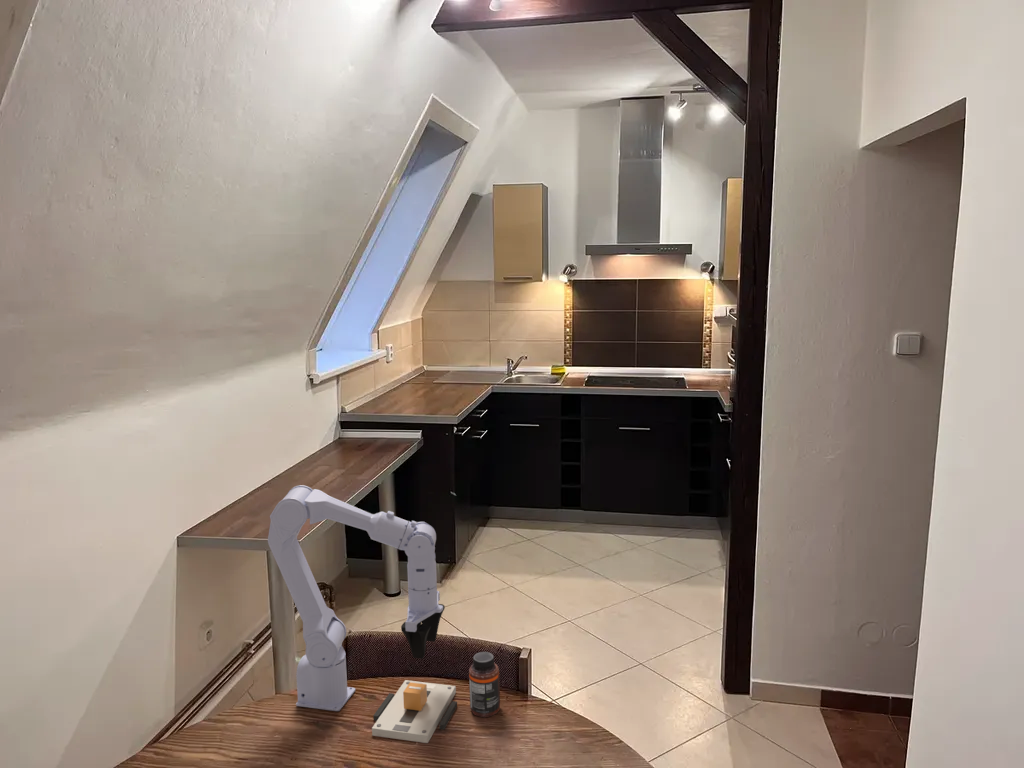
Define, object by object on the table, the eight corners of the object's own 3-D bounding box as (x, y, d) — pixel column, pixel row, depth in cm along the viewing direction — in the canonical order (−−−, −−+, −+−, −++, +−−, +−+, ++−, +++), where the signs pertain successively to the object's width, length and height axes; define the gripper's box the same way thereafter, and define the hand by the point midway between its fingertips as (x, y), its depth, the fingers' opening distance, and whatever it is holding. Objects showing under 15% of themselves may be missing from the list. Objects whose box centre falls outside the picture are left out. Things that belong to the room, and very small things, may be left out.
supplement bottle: (483, 697, 154) (482, 645, 152) (506, 708, 150) (505, 654, 148) (463, 711, 149) (462, 657, 147) (486, 722, 145) (485, 667, 144)
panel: (372, 735, 142) (371, 727, 142) (405, 686, 158) (405, 679, 158) (427, 743, 139) (427, 735, 139) (455, 692, 156) (455, 685, 155)
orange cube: (403, 708, 147) (403, 691, 147) (410, 698, 150) (409, 681, 150) (420, 710, 146) (420, 693, 146) (427, 700, 150) (426, 683, 149)
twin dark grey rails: (373, 720, 146) (373, 715, 146) (389, 697, 154) (389, 693, 154) (444, 729, 143) (444, 724, 143) (457, 706, 151) (456, 701, 151)
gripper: (429, 602, 143) (431, 669, 145) (452, 572, 157) (454, 633, 159) (394, 599, 144) (396, 665, 147) (420, 569, 158) (422, 630, 160)
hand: (424, 648), depth 153 cm, fingers open, 6 cm apart
